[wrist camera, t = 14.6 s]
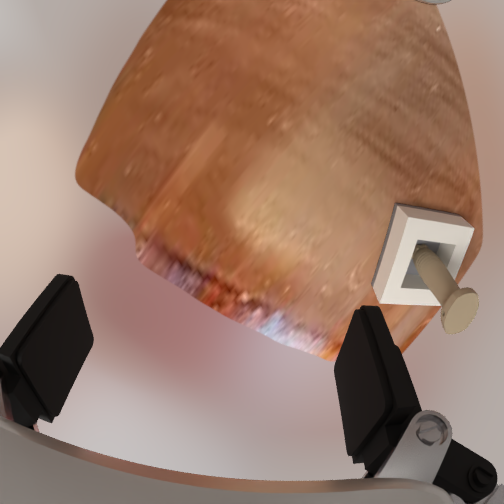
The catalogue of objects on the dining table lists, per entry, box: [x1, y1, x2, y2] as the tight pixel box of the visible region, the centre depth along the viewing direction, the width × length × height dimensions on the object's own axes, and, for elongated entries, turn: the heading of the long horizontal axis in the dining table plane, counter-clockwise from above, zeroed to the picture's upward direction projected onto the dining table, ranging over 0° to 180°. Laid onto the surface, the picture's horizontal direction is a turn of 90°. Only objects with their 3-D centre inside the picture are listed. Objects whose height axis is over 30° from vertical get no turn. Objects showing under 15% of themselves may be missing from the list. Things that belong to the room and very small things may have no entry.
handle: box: [412, 244, 479, 334], centre depth 38 cm, size 5×6×15 cm
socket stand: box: [371, 203, 475, 306], centre depth 44 cm, size 14×12×5 cm
